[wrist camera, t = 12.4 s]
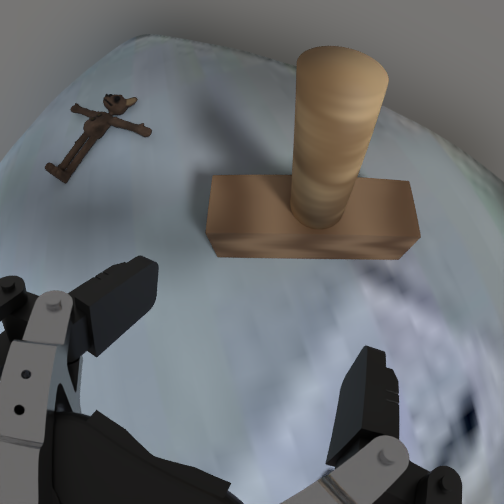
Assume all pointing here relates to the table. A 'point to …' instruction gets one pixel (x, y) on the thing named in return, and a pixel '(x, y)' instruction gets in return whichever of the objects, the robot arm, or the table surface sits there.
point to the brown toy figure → (96, 132)
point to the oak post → (332, 129)
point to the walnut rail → (304, 238)
